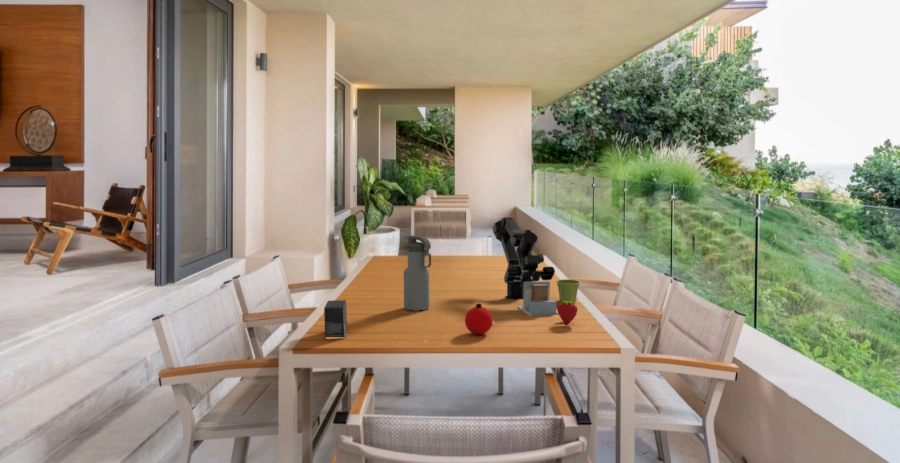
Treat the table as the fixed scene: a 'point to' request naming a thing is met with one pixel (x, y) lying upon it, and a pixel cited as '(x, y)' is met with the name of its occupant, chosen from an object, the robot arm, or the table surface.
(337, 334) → the small box
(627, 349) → the table surface
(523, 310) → the light blue base plate
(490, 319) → the ornament
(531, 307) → the fixed jaw
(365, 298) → the table surface
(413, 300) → the water bottle
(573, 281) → the plant pot
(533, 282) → the jaw
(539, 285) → the block
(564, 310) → the strawberry
